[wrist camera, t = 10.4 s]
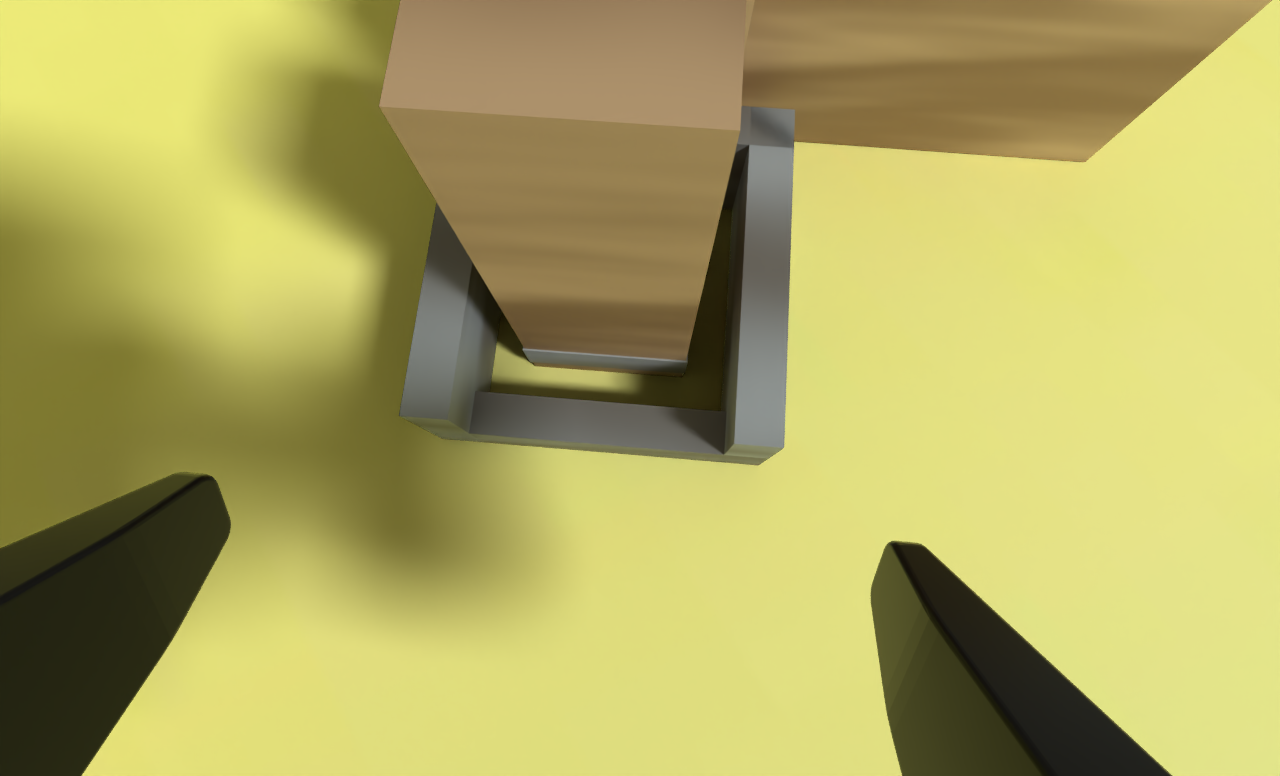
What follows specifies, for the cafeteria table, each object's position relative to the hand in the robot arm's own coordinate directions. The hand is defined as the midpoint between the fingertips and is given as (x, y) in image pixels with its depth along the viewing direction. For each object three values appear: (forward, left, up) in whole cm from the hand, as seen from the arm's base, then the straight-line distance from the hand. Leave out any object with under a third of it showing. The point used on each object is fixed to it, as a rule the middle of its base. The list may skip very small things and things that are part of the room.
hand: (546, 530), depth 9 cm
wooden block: (+4, -6, -10) cm, 12 cm away
